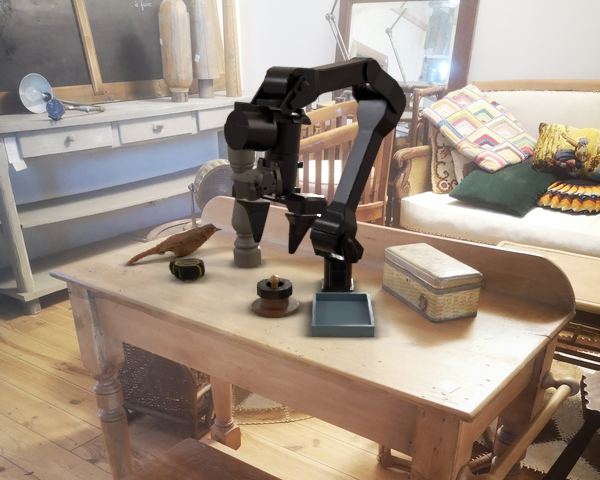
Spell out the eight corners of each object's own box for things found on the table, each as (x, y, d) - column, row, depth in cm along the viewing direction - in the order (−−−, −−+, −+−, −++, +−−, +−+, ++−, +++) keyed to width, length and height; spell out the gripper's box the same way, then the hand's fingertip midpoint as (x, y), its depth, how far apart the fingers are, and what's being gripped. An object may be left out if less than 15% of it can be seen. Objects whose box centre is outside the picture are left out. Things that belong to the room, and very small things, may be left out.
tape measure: (200, 271, 130) (199, 254, 128) (209, 281, 125) (208, 263, 123) (170, 275, 128) (167, 258, 126) (177, 286, 123) (175, 268, 121)
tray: (313, 301, 115) (313, 292, 114) (368, 302, 115) (369, 292, 114) (311, 336, 102) (311, 325, 101) (374, 336, 102) (375, 326, 101)
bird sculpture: (126, 271, 137) (119, 251, 134) (217, 234, 148) (213, 214, 144) (138, 280, 133) (131, 259, 130) (231, 241, 143) (227, 221, 140)
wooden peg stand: (254, 298, 117) (252, 266, 113) (299, 298, 116) (299, 267, 113) (249, 317, 109) (247, 284, 106) (298, 318, 109) (297, 284, 105)
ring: (259, 286, 114) (258, 277, 113) (293, 286, 114) (293, 277, 113) (255, 300, 109) (255, 290, 108) (291, 300, 108) (291, 290, 107)
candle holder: (257, 268, 131) (251, 147, 118) (230, 267, 132) (221, 146, 119) (264, 259, 136) (259, 142, 123) (238, 258, 137) (231, 141, 124)
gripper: (208, 144, 99) (205, 239, 105) (283, 158, 87) (274, 264, 94) (259, 147, 106) (253, 236, 113) (335, 160, 94) (323, 258, 101)
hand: (273, 248), depth 105 cm, fingers open, 9 cm apart
